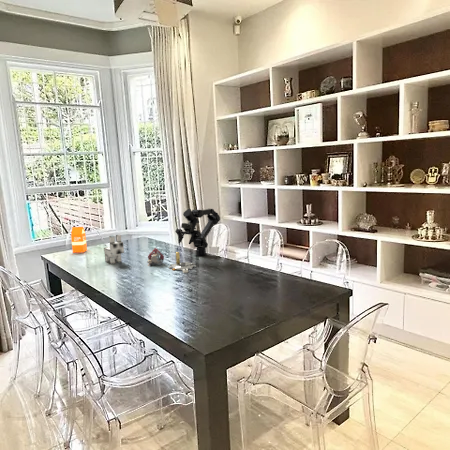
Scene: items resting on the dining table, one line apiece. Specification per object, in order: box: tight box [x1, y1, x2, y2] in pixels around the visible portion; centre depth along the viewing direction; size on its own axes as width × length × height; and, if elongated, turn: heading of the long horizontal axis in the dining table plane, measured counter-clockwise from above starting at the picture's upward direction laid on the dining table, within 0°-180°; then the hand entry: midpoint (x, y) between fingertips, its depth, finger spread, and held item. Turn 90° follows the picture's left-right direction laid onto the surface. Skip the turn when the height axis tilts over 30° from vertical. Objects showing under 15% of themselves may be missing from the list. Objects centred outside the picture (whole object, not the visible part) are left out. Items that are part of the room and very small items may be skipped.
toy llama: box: [103, 233, 125, 265], centre depth 275 cm, size 8×18×20 cm, turn 42°
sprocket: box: [168, 251, 197, 271], centre depth 257 cm, size 18×18×9 cm
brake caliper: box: [146, 247, 165, 267], centre depth 266 cm, size 11×11×12 cm
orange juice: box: [70, 226, 88, 254], centre depth 313 cm, size 8×9×20 cm
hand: (184, 243), depth 267 cm, fingers open, 8 cm apart
